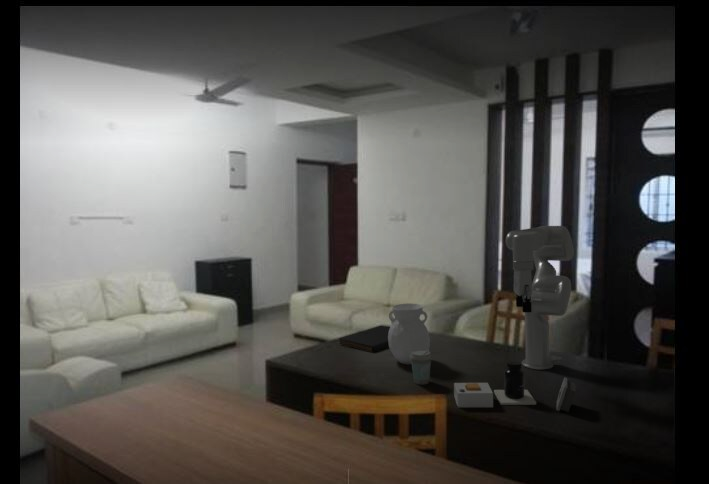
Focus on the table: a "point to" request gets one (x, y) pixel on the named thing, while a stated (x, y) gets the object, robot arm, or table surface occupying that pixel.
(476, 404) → the box
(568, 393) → the electrical switch
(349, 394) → the table surface
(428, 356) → the coffee cup
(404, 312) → the grey vase
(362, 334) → the file folder
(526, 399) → the pad
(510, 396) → the supplement bottle
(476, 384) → the button
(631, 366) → the table surface
